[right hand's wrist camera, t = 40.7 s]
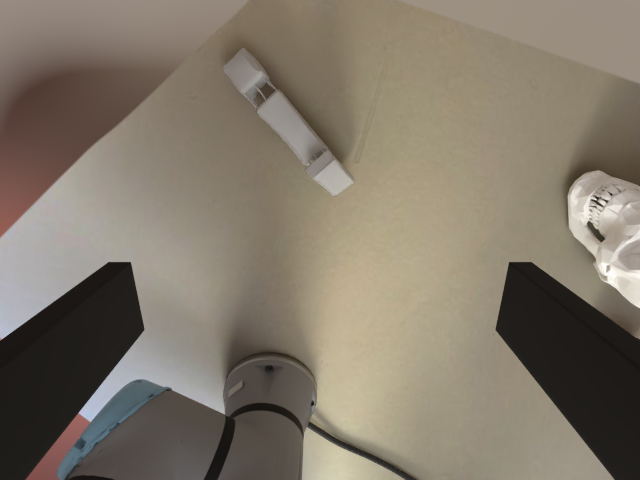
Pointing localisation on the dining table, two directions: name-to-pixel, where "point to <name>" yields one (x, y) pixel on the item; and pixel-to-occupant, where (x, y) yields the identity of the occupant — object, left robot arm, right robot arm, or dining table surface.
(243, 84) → the grey jointed segment piece
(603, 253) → the skull
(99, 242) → the dining table surface
